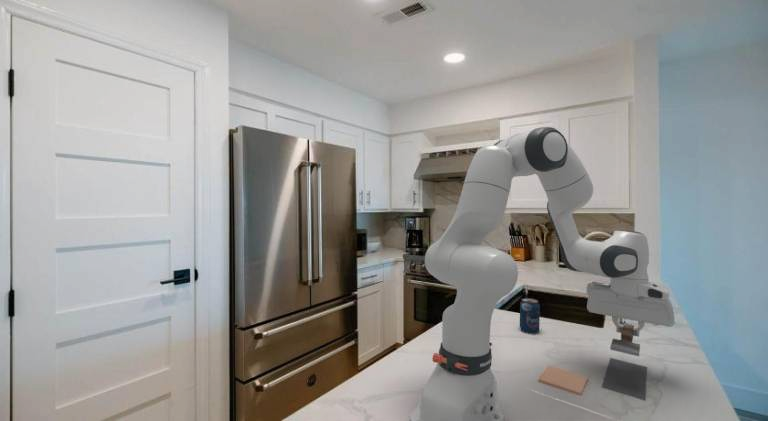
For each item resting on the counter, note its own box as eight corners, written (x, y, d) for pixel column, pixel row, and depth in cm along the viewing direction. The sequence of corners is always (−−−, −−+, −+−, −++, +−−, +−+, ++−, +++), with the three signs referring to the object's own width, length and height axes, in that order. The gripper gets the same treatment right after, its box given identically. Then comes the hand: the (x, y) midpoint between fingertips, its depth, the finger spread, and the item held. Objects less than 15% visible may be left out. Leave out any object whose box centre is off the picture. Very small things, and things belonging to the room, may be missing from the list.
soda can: (529, 335, 122) (530, 303, 122) (515, 329, 128) (516, 298, 128) (543, 333, 125) (544, 301, 124) (529, 326, 131) (529, 296, 131)
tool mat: (645, 402, 81) (645, 400, 81) (601, 389, 86) (601, 387, 86) (647, 369, 98) (647, 367, 98) (610, 359, 103) (610, 357, 103)
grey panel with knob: (638, 356, 83) (639, 346, 83) (610, 349, 87) (610, 340, 87) (641, 334, 97) (641, 326, 97) (616, 329, 101) (616, 322, 101)
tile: (587, 383, 90) (580, 399, 83) (548, 371, 97) (538, 385, 89) (587, 377, 90) (580, 392, 83) (548, 365, 97) (538, 378, 89)
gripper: (585, 282, 99) (584, 328, 99) (675, 294, 86) (674, 347, 86) (588, 279, 104) (587, 322, 104) (674, 290, 91) (673, 339, 91)
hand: (627, 333), depth 95 cm, fingers closed on grey panel with knob, 2 cm apart
